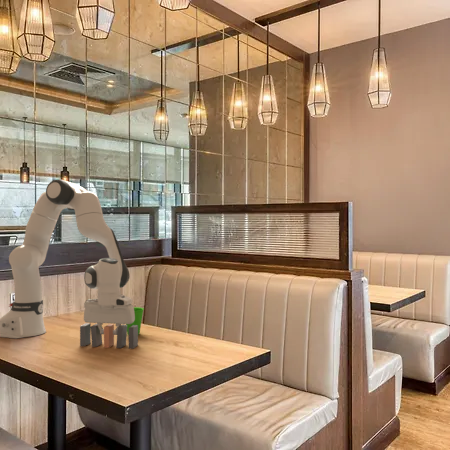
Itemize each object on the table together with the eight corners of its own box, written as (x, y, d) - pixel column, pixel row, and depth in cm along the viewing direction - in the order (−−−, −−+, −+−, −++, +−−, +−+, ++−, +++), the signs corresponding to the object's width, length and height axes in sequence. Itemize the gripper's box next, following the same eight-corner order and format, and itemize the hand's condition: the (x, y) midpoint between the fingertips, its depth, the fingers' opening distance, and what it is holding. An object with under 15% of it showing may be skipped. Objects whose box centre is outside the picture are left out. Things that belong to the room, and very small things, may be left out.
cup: (146, 332, 202) (146, 307, 202) (140, 337, 193) (140, 311, 193) (126, 331, 203) (126, 307, 203) (120, 336, 194) (120, 311, 194)
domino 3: (104, 347, 177) (103, 326, 177) (109, 344, 182) (109, 324, 182) (108, 347, 177) (108, 327, 177) (113, 344, 182) (113, 324, 182)
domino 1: (80, 346, 179) (80, 325, 179) (85, 342, 184) (85, 323, 184) (84, 346, 179) (84, 326, 179) (90, 343, 184) (90, 323, 184)
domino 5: (128, 348, 176) (128, 327, 176) (133, 345, 181) (133, 325, 181) (133, 348, 176) (133, 328, 176) (137, 345, 180) (137, 325, 180)
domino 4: (116, 347, 177) (117, 327, 177) (121, 344, 182) (122, 324, 181) (121, 348, 176) (122, 327, 176) (125, 344, 181) (127, 324, 181)
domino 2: (92, 346, 178) (90, 326, 178) (97, 343, 183) (96, 323, 183) (96, 346, 178) (95, 326, 178) (102, 343, 183) (100, 323, 183)
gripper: (80, 299, 178) (80, 335, 178) (130, 301, 175) (130, 337, 175) (88, 297, 184) (88, 331, 185) (136, 298, 181) (136, 333, 181)
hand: (109, 334), depth 180 cm, fingers open, 4 cm apart
